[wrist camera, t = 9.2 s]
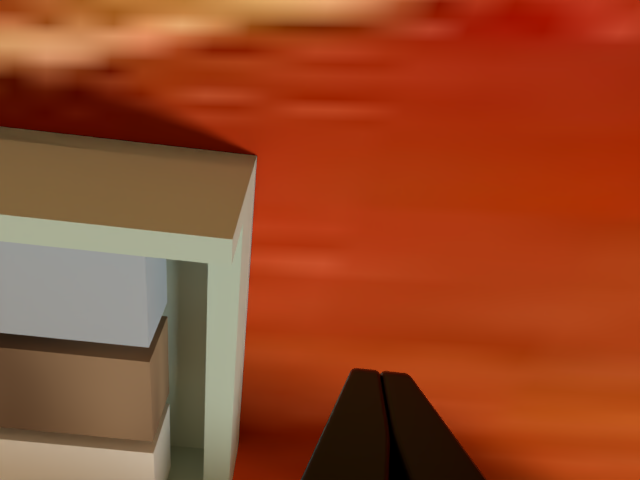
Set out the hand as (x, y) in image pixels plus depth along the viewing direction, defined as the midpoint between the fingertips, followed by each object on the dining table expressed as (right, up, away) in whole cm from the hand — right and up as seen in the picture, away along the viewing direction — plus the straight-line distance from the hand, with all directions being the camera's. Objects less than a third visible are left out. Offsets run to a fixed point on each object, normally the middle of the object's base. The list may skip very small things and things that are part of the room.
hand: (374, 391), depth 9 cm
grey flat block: (-10, +2, +10) cm, 14 cm away
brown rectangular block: (-10, -2, +12) cm, 16 cm away
